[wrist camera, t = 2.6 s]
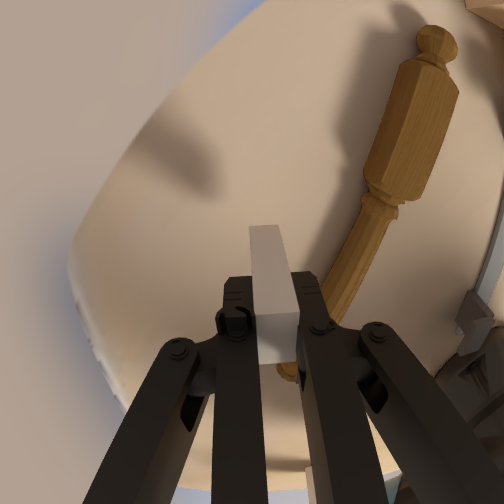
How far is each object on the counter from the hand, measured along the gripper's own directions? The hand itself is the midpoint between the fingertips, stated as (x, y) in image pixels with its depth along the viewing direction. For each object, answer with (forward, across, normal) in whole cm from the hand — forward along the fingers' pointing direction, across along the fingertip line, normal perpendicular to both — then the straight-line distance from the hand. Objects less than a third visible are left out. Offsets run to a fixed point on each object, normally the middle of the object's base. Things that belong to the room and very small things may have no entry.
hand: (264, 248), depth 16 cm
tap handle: (+4, -7, 0) cm, 8 cm away
